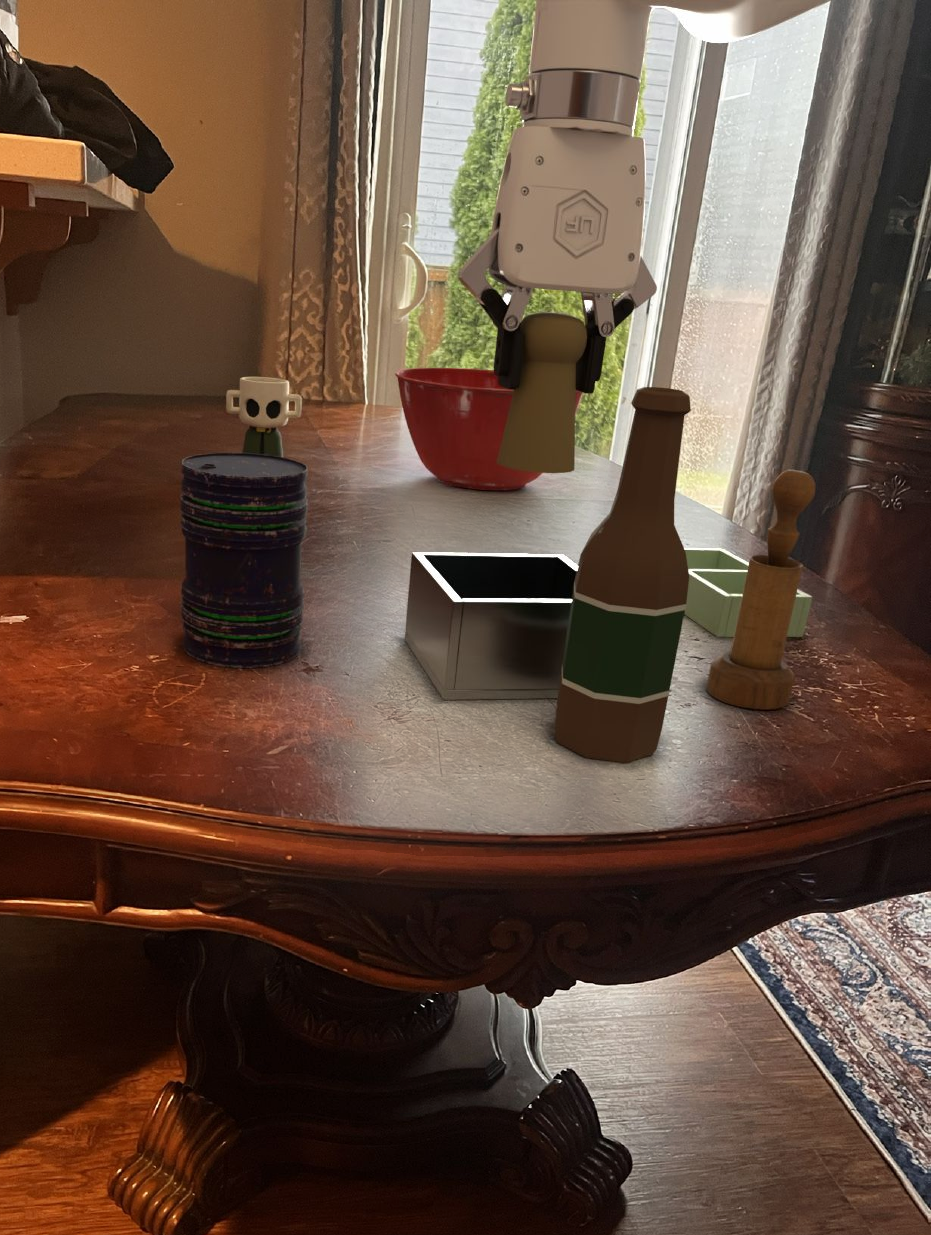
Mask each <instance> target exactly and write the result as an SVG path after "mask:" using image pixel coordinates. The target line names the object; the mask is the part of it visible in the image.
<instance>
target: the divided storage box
mask: <svg viewBox="0 0 931 1235" xmlns="http://www.w3.org/2000/svg"><path fill="white" fill-rule="evenodd" d="M684 549H685V552H686V558H687V565H688V571H689V584H688V593H687V602H686V608H685V613H684V616H686V617H688V618H689V619H690V620H692V621H693V622H695V623H696V624H698V625H699V626H700V627H702V628H703V629H705V630H706V631H708V632H709V633H710V634H712V635H714V636H715V637H716V638H734V634H735V630H736V625H737V620H738V615H739V610H740V605H741V600H742V595H743V590H744V585H745V580H746V575H747V570H748V565H749V561H746V560H745V559H743V558H741V557H740V556H737V555H735V554H733V553H732V552H730V551H728V550H726V549H724V548H709V547H708V548H707V547H705V548H704V547H702V548H701V547H684ZM812 601H813V596H812V595H810V594H808V593H806V592H804V591H802V590H801V589H799V588H798V590H797V594H796V598H795V602H794V607H793V611H792V616H791V620H790V624H789V629H788V633H787V638H803V637H804V634H805V630H806V626H807V622H808V618H809V614H810V610H811V606H812V603H813V602H812Z"/></svg>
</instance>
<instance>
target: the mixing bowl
mask: <svg viewBox="0 0 931 1235" xmlns="http://www.w3.org/2000/svg"><path fill="white" fill-rule="evenodd" d="M394 375H395V377H396V378H397V383H398V384H397V385H398V390H399V396H400V402H401V406H402V410H403V411H402V412H403V416H404V419H405V423H406V427H407V429H408V432H409V436H410V438H411V441H412V444H413V446H414V448H415V451H416V453H417V455H418V458H419V460H420V462H421V464H422V465H424V467H425V468H426V469H427V471H428V472H429V473H430V474H432V475H433V476H434V477H436V478H437V480H438V481H439V482H441V483H444V484H446V485H450V486H453V487H458V488H465V489H471V490H480V491H511V490H517V489H522V488H524V487H525V486H526V485H528V484H529V483H532V482H534V481H535V480H536V479H538V478H539V477H540V476H541V475H543V473H539V472H529V471H522V470H516V469H512V468H507V467H504V466H501V465H499V464H498V463H497V459H498V455H499V451H500V446H501V442H502V438H503V434H504V430H505V426H506V421H507V417H508V413H509V409H510V405H511V400H512V396H513V392H514V390H510V389H506V388H504V387H502V386H499V385H498V376H496V375H494V369H483V368H481V369H480V368H463V367H462V368H461V367H413V368H404V369H400V370H396V371H395V373H394ZM583 396H584V393H583V392H580V391H577V390H575V416H576V415H577V413H578V409H579V407H580V404H581V401H582V399H583Z"/></svg>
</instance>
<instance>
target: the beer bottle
mask: <svg viewBox="0 0 931 1235" xmlns="http://www.w3.org/2000/svg"><path fill="white" fill-rule="evenodd" d="M630 404H631V406H632V408H634V413H633V418H632V422H631V423H632V424H631V427H630V432H629V437H628V440H627V445H626V450H625V455H624V458H623V463H622V464H623V465H622V466H621V467H622V468H621V472H620V477H619V482H618V485H617V486H618V487H617V490H616V494H615V495H614V496H615V497H614V499H613V502H612V505H611V508H610V511H609V514H607V515H606V516H605V517H604V519H603V520H602V521H601V522H600V523H599V525H598V526H597V527H596V528H595V529H593V532H591V534H590V535H589V538H588V540H587V541H586V543H585V545H584V547H583V549H582V550H581V553H580V555H579V560H578V563H577V566H578V568H577V572H576V577H575V582H574V589H573V595H572V602H571V609H570V616H569V622H568V629H567V636H566V643H565V650H564V656H563V663H562V670H561V677H560V683H559V690H558V697H557V698H556V707H555V708H556V709H555V718H554V719H555V720H554V724H555V725H554V726H555V727H554V728H555V732H554V735H555V737H554V738H555V740H556V743H557V744H559V745H560V746H562V747H565V748H567V749H568V750H570V751H572V752H574V753H576V754H578V755H580V756H582V757H583V758H586V759H593V760H602V761H610V762H618V763H625V764H626V763H630V762H633V761H636V760H639V759H642V758H646V757H649V756H651V755H654V753H656V751H657V749H658V746H659V742H660V737H661V735H662V730H663V725H664V721H665V717H666V716H665V715H666V710H667V705H668V700H669V696H670V691H671V685H672V679H673V674H674V669H675V665H676V660H677V654H678V649H679V644H680V638H681V634H682V627H683V622H684V618H685V614H684V613H685V608H686V602H687V593H688V584H689V571H688V565H687V558H686V552H685V549H684V548H685V547H684V545H683V542H682V540H681V538H680V536H679V533H678V530H677V528H676V525H675V500H676V499H675V498H676V489H677V481H678V473H679V467H680V466H679V465H680V456H681V448H682V441H683V432H684V423H685V416H686V415H687V414H689V413H691V411H692V409H691V408H692V407H691V397H690V395H689V394H688V393H687V392H685V391H683V390H681V389H676V388H669V387H658V386H643V387H640V388H637V389H636V391H635V393H634V396H633V398H632V400H631V402H630Z"/></svg>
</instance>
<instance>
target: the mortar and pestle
mask: <svg viewBox="0 0 931 1235" xmlns="http://www.w3.org/2000/svg"><path fill="white" fill-rule="evenodd" d="M815 493H816V483H815V479H814V477H813V476H812V475H810V473H808V472H805V471H802V470H797V469H787V470H784V471H783V472H781V473H780V474H779V475H777V477H776V478H775V480H774V481H773V484H772V488H771V497H772V500H773V503H774V504H773V505H774V507H775V510H776V521H775V523H774V525H772V526H771V527H769V528H767V533H766V534H767V535H766V540H767V543H766V544H767V555H765V554H756V555H751V556H750V557H749V559H748V560H749V561H748V563H749V565H748V570H747V575H746V580H745V585H744V590H743V595H742V600H741V605H740V610H739V615H738V620H737V625H736V630H735V634H734V637H733V639H732V643H731V644H732V645H731V648H730V650H729V651H726V652H724V653H722V655H720V656H718V657H715V659H713V660H712V661H711V664H710V667H709V672H708V676H707V682H706V687H705V688H706V691H707V693H708V694H709V696H711V697H713V698H714V699H717V700H718V701H721V702H723V703H725V704H728V705H731V706H735V707H739V708H745V709H753V710H759V711H760V710H762V711H763V710H764V711H765V710H766V711H767V710H768V711H770V710H777V709H781V708H784V707H786V706H787V705H788V704H789V703H790V700H791V697H792V692H793V687H794V684H795V673H794V672H793V670H791V669H790V667H789V665H788V664H787V662H785V661H784V660H783V656H784V652H785V647H786V643H787V638H788V637H787V633H788V629H789V624H790V620H791V616H792V611H793V607H794V602H795V598H796V594H797V590H798V589H799V585H800V580H801V577H802V574H803V569H804V564H803V563H802V562H799V561H797V560H794V559H791V558H789V557H790V555H791V553H792V552H793V549H794V548H795V546H796V543H797V542H798V539H799V537H800V532H799V531H798V529H797V520H798V517H799V516H800V515H801V513H803V511H804V510H805V509H806V507H807V506H808V505H809V504H810V503H811V502H812V501H813V499H814V497H815Z"/></svg>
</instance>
